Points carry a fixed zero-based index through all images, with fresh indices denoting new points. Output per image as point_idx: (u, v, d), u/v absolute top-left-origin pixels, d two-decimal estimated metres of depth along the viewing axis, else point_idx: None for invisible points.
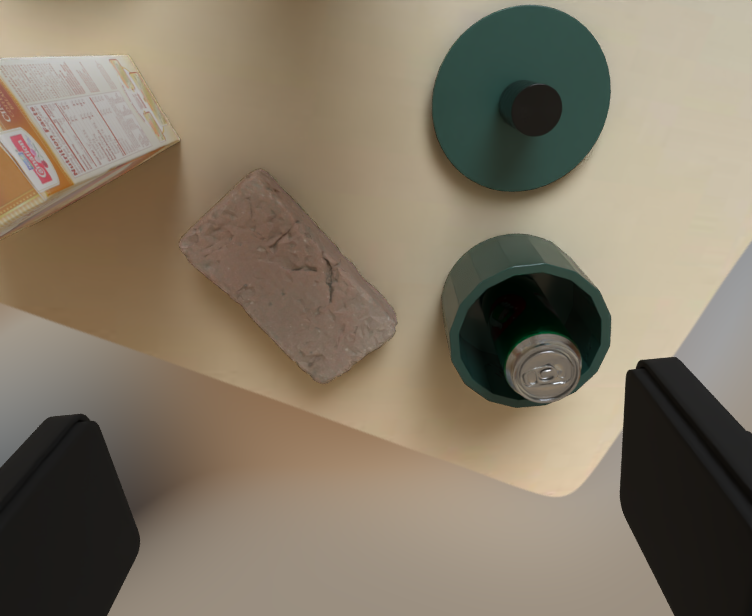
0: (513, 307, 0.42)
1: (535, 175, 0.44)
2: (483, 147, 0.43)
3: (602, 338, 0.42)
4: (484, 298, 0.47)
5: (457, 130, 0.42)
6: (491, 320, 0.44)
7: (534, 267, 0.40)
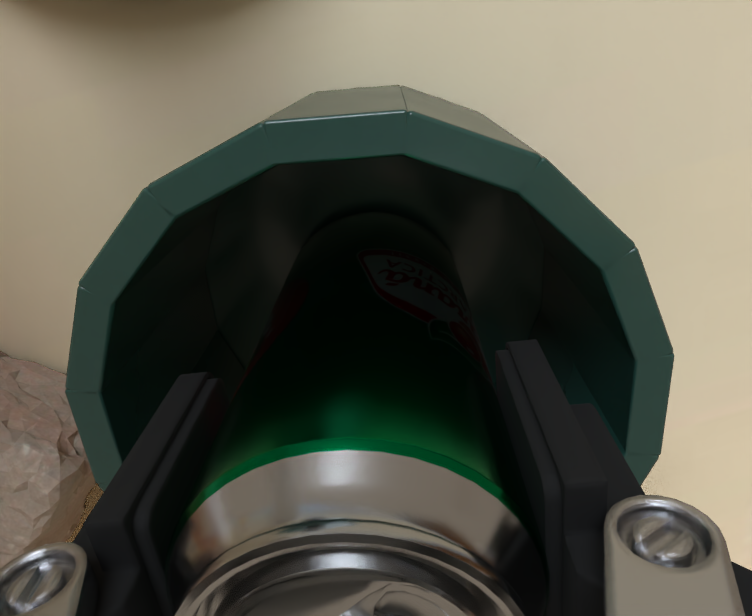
0: (267, 331, 0.11)
1: None
2: None
3: (633, 338, 0.11)
4: None
5: None
6: None
7: (232, 156, 0.09)
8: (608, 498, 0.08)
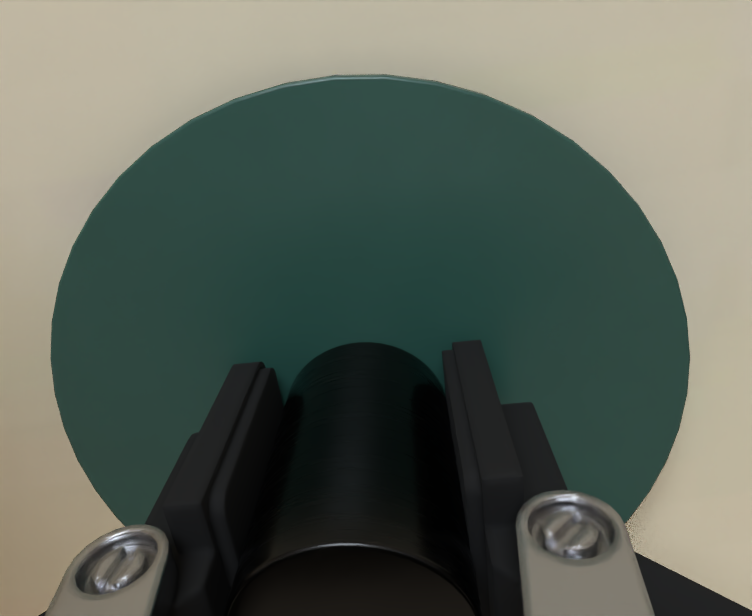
0: None
1: None
2: None
3: None
4: None
5: None
6: None
7: None
8: (532, 493, 0.08)
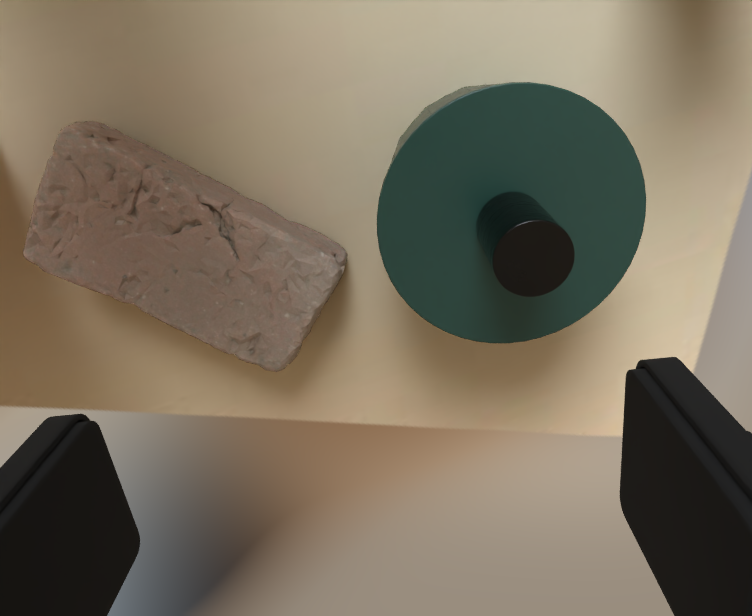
0: None
1: (566, 307, 0.29)
2: (478, 296, 0.29)
3: None
4: None
5: (433, 287, 0.29)
6: None
7: None
8: None
